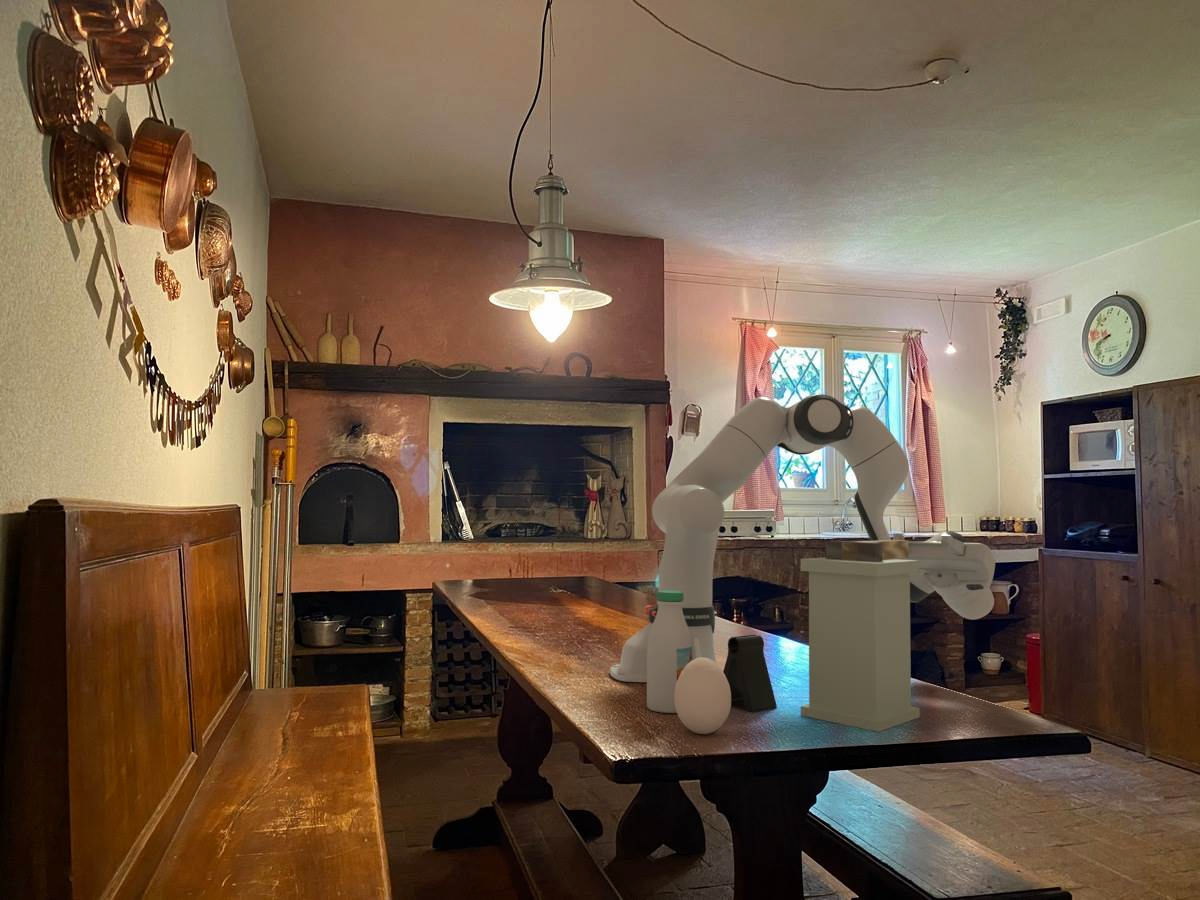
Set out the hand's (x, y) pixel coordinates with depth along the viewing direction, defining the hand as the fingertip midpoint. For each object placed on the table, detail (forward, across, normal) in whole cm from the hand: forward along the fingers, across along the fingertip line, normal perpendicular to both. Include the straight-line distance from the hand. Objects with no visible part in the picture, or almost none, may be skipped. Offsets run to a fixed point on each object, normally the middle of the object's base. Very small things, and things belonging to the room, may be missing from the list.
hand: (920, 537), depth 162 cm
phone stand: (+12, -18, +41) cm, 46 cm away
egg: (+30, -11, +51) cm, 60 cm away
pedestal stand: (+5, 0, +37) cm, 37 cm away
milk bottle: (+23, -25, +47) cm, 58 cm away
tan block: (+13, 0, +11) cm, 17 cm away
